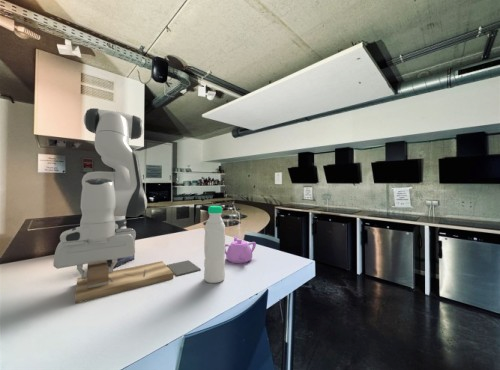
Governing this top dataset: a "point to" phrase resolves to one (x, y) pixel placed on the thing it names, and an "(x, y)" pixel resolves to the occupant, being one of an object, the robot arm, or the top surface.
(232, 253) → the teapot
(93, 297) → the oak board
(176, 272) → the rubber mat
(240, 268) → the top surface
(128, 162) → the robot arm
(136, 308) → the top surface
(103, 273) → the block
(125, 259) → the small box
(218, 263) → the water bottle
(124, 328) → the top surface
